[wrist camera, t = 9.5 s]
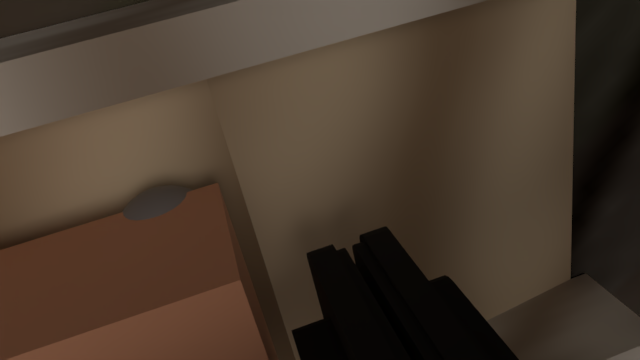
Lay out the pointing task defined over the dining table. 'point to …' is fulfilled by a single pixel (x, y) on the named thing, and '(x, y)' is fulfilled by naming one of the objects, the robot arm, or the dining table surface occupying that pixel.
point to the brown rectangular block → (135, 287)
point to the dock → (325, 145)
